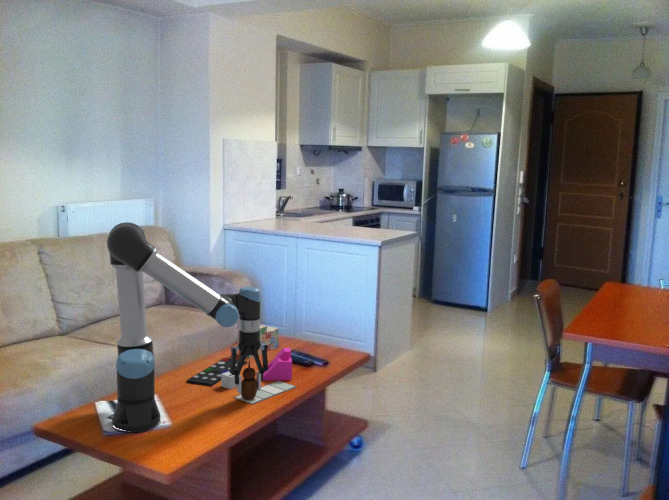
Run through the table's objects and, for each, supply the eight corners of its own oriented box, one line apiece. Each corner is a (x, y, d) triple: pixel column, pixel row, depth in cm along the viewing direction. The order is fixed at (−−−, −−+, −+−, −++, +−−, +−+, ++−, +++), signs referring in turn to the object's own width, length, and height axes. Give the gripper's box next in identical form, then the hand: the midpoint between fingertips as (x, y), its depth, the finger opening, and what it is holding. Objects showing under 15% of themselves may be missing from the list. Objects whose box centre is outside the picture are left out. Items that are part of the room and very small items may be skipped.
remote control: (247, 364, 270) (247, 360, 270) (211, 387, 241) (211, 382, 241) (224, 361, 273) (224, 356, 273) (186, 383, 245) (186, 378, 245)
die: (230, 389, 239) (230, 376, 238) (221, 386, 242) (221, 373, 241) (239, 386, 243) (239, 373, 242) (230, 383, 246) (231, 370, 245)
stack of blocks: (268, 345, 298) (268, 319, 296) (278, 347, 294) (279, 321, 293) (238, 356, 280) (238, 329, 278) (249, 358, 276) (249, 331, 275)
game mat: (252, 404, 224) (252, 404, 224) (233, 397, 230) (233, 397, 230) (296, 387, 243) (296, 386, 243) (278, 380, 249) (278, 380, 249)
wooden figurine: (253, 402, 226) (253, 362, 224) (238, 400, 227) (238, 360, 225) (259, 395, 232) (259, 356, 230) (244, 394, 234) (244, 355, 231)
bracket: (289, 371, 261) (290, 347, 260) (291, 380, 251) (292, 355, 250) (260, 372, 259) (260, 348, 258) (261, 380, 249) (261, 355, 248)
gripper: (226, 335, 218) (225, 398, 222) (278, 330, 227) (277, 390, 230) (220, 329, 225) (219, 391, 228) (271, 325, 234) (270, 384, 237)
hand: (248, 390), depth 229 cm, fingers closed on wooden figurine, 7 cm apart
